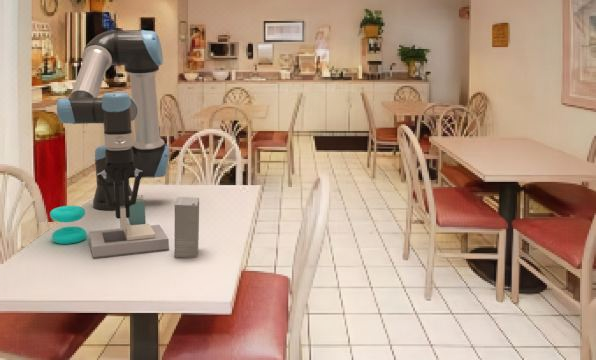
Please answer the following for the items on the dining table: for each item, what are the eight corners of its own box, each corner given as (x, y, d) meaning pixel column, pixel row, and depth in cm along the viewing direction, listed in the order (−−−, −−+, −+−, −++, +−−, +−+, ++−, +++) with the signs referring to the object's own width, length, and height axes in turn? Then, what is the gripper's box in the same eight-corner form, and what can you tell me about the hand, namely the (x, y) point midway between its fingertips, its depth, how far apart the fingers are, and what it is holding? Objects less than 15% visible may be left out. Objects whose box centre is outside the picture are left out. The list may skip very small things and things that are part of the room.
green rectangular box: (128, 232, 197) (125, 196, 195) (144, 231, 199) (142, 194, 197) (129, 237, 193) (127, 199, 190) (146, 235, 195) (144, 198, 192)
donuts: (70, 203, 194) (91, 207, 189) (72, 233, 196) (93, 238, 191) (42, 209, 186) (64, 214, 181) (45, 241, 188) (66, 247, 183)
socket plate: (89, 242, 187) (88, 231, 186) (159, 235, 195) (159, 224, 194) (93, 258, 173) (92, 246, 172) (168, 250, 180) (168, 238, 179)
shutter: (122, 229, 188) (121, 216, 187) (149, 226, 191) (148, 214, 190) (127, 240, 177) (126, 226, 176) (155, 237, 180) (154, 224, 179)
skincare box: (176, 249, 181) (174, 196, 178) (201, 248, 182) (199, 196, 178) (173, 258, 173) (171, 203, 170) (199, 258, 173) (197, 203, 170)
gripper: (95, 151, 169) (101, 234, 173) (144, 148, 173) (148, 230, 178) (93, 147, 175) (99, 227, 180) (140, 145, 180) (144, 223, 185)
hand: (123, 228), depth 179 cm, fingers closed
